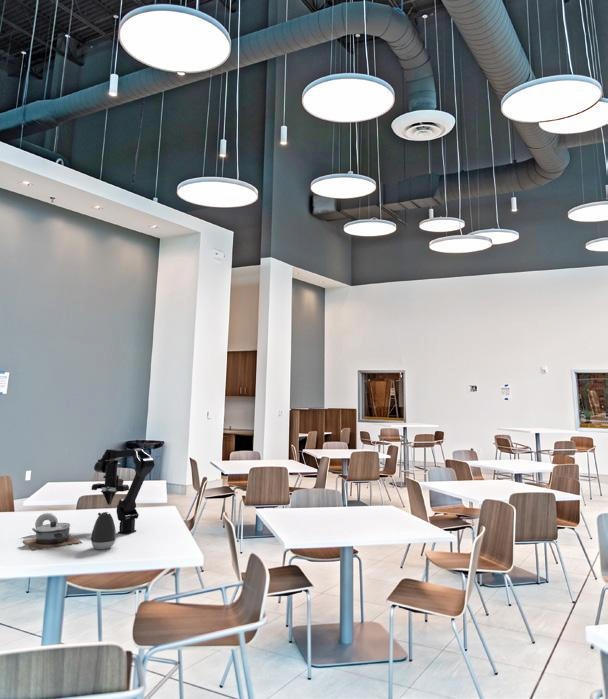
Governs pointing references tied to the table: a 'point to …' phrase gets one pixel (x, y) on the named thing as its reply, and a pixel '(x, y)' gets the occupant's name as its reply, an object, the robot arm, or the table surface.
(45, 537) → the cooking pot
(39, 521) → the donut
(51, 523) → the cooker lid
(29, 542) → the walnut trivet
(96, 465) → the robot arm
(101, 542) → the dark grey egg shape
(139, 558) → the table surface
